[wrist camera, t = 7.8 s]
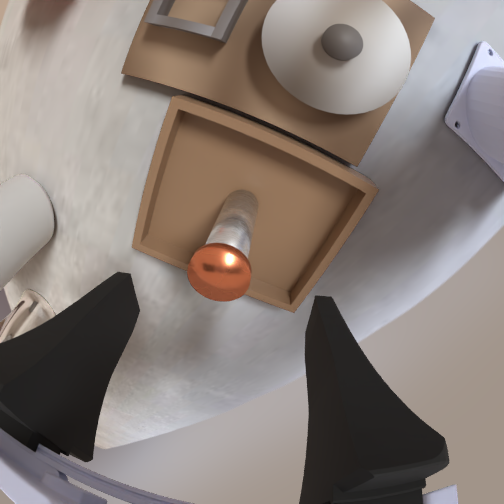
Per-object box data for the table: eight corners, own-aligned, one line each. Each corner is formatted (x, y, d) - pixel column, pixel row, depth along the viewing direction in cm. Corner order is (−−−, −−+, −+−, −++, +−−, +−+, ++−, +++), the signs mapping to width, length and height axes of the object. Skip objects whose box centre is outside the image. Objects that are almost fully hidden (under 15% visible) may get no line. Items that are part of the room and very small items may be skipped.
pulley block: (427, 20, 11) (453, 12, 8) (353, 162, 17) (367, 179, 14) (198, -69, 8) (183, -91, 6) (128, 73, 15) (100, 74, 12)
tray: (370, 179, 17) (378, 189, 16) (293, 295, 23) (294, 312, 22) (183, 94, 16) (172, 96, 14) (142, 234, 22) (131, 247, 20)
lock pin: (262, 185, 18) (249, 251, 12) (263, 224, 20) (251, 303, 13) (219, 185, 18) (182, 249, 12) (222, 223, 20) (192, 299, 13)
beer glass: (61, 310, 29) (2, 405, 16) (56, 332, 32) (8, 415, 20) (22, 277, 27) (-44, 362, 15) (21, 304, 30) (-32, 380, 18)
